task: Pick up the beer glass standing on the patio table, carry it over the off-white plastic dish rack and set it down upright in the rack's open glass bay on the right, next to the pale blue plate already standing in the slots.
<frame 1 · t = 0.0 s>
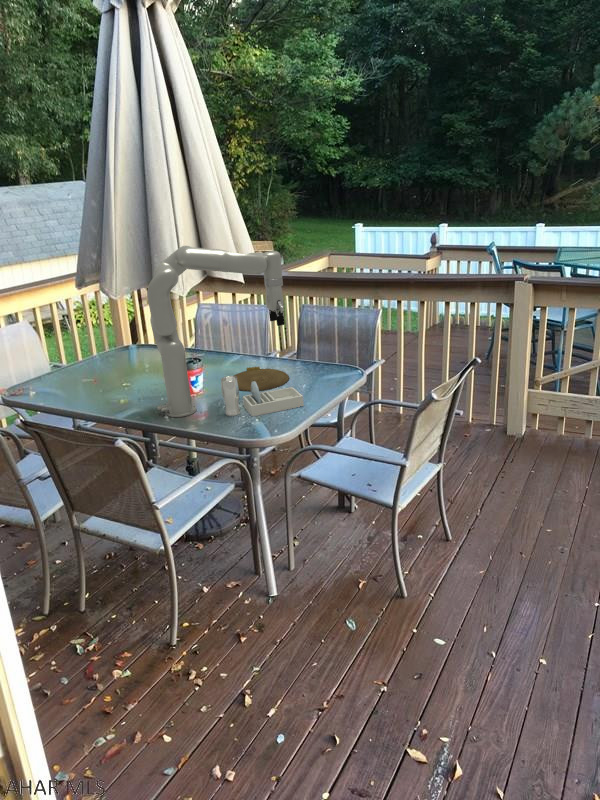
hand: (277, 322, 262), 31 cm above the table, tool pointing down, fingers open, 9 cm apart
beer glass: (233, 413, 254), on the table
decorative disc: (258, 381, 291), on the table
rack: (273, 406, 258), on the table
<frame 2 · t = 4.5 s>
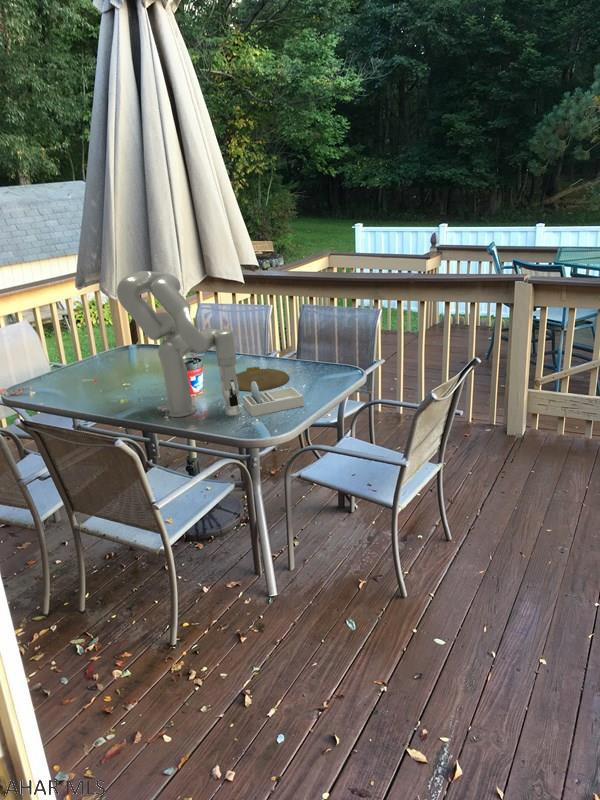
hand: (231, 402, 252), 5 cm above the table, tool pointing down, fingers closed on beer glass, 6 cm apart
beer glass: (233, 413, 254), on the table, touching gripper
everything else where it was.
when the fingers open (7 cm above the table, at t = 13.0 s): beer glass drops 1 cm, resting on rack.
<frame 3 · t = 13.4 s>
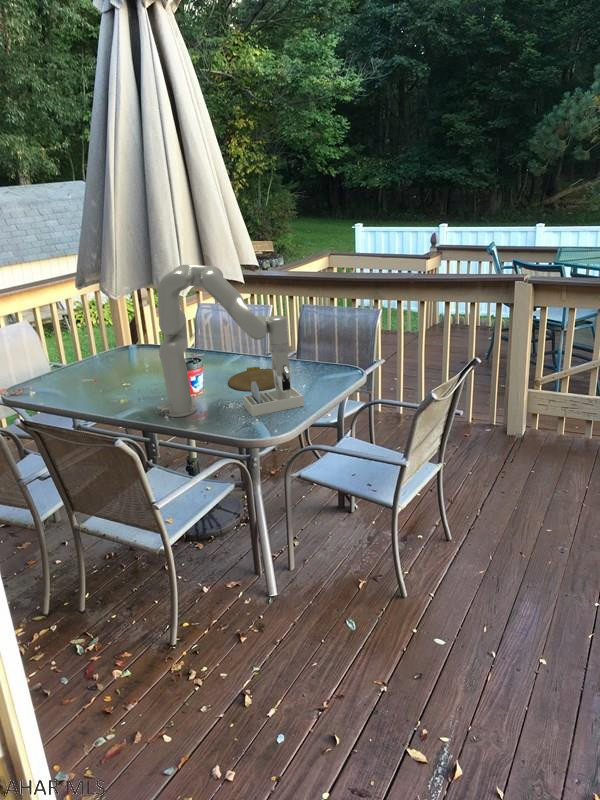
hand: (282, 386, 256), 8 cm above the table, tool pointing down, fingers open, 9 cm apart
beer glass: (284, 402, 259), point 1 cm above the table, touching rack
everything else where it was.
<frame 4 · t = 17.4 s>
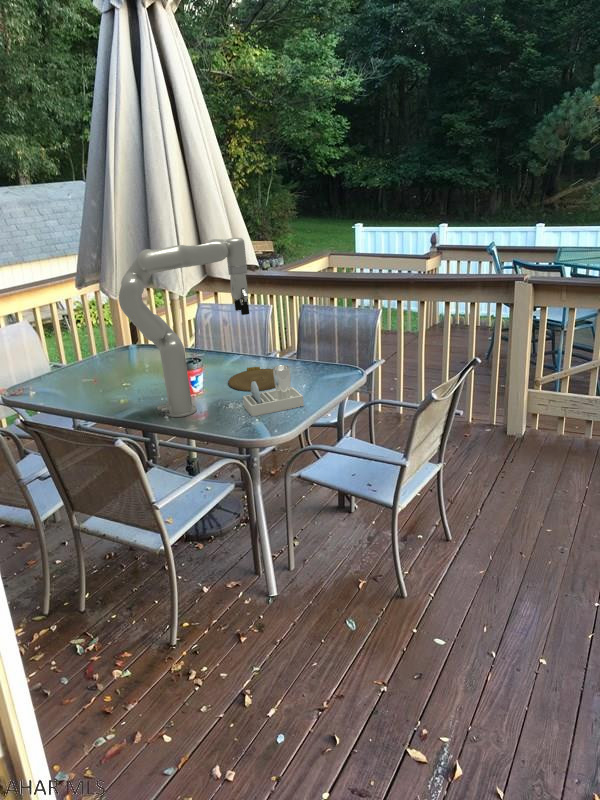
hand: (242, 312, 253), 38 cm above the table, tool pointing down, fingers open, 9 cm apart
nothing on the table moved.
at the end: beer glass inside the target area on the rack (0.4 cm from its centre), point 0.8 cm above the rack's base; beer glass tilted 0°; the gripper is holding nothing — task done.
